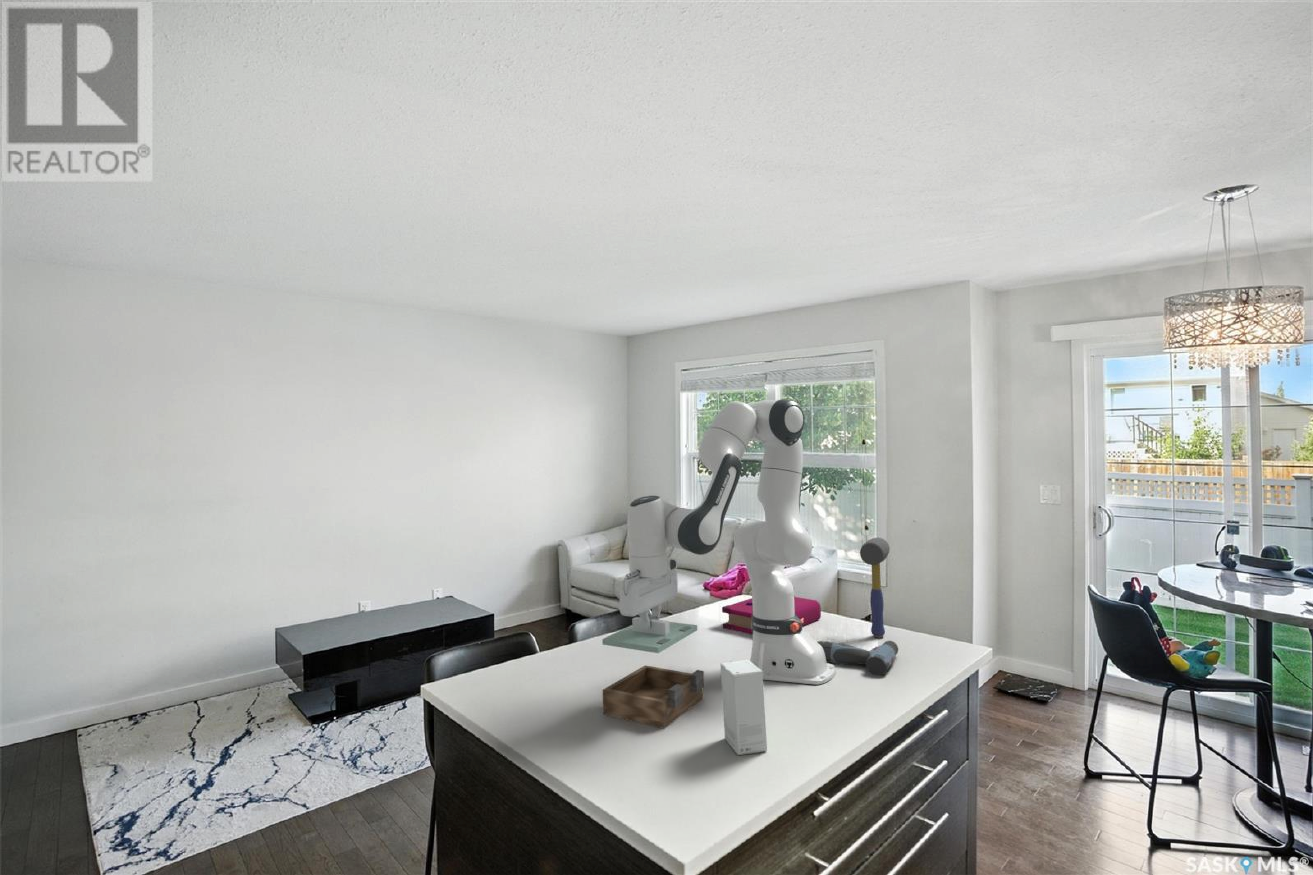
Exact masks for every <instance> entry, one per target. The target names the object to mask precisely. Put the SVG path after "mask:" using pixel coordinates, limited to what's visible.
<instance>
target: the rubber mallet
mask: <svg viewBox="0 0 1313 875" xmlns="http://www.w3.org/2000/svg"><path fill="white" fill-rule="evenodd" d="M859 551H860V552H859V556H860V558H861V560H862V561H863V562H864V563H865V564H867V565H869V566H871V591H870V600H869V601H870V611H871V628H870V633H871V634H872V636H873V637H874V638H879V639H881V638H883V637H884V635H885V633H886V630H885V625H884V606H885V604H884V595H883V591H882V581H881V563H883V562H884V561H885V560H886V559H887V557H888V556H889V553H890V545H889V543H888V541H886V539H884V538H882V537H873V538H870V539H868V540H866V541H865V542H864V544H862V546H861V548H860V550H859Z"/></svg>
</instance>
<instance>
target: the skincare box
mask: <svg viewBox="0 0 1313 875" xmlns="http://www.w3.org/2000/svg"><path fill="white" fill-rule="evenodd" d="M720 678H721V680H720V681H721V693H722V695H721V697H722V711H723V714H722V715H723V727H724V739H725V741H726V742H727V743H728V745H729V746H730V747H731V748H732V750H733V751H734V753H736V755H737V756H742V755H749V754H757V753H763V752H766V751H768V739H767V728H766V727H767V726H766V709H765V695H764V694H765V692H764V691H765V690H764V679H763V671H761V670H760V669H759V668H758V667H756V666H755V665H754V664H753V663H752V662H750V659H743V660H736V661H735V660H734V661H730V662H721V663H720Z"/></svg>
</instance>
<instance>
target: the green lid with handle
mask: <svg viewBox="0 0 1313 875" xmlns="http://www.w3.org/2000/svg"><path fill="white" fill-rule="evenodd" d="M649 619H650V618H649ZM650 620H652V627H650V628H648V629H645V628H643V627H642V620H641V618H640V616H634V617H633V618H632V619H631V621H632V624H631V625H629V626H626V627H624V628H623V629H621V630H618V631H617V632H615V633H613V634H610V635H608V636H606V637H604V638H602V641H601V642H602V645H603V646H610V647H616V648H622V649H629V650H634V651H640V652H648V653H655V654H660V653H661V652H663V651H665V650H666V649H668V648H670V647H671V646H673V645H675V644H677V643H678V642H680V641H682V640H684V639H685V638H687V637H689V636H690V635H692V634H694V633H695V632H697V631H698V625H697V624H691V623H682V622H677V621H676V622H675V621H669V620H664V619H659V620H657V619H650Z"/></svg>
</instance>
